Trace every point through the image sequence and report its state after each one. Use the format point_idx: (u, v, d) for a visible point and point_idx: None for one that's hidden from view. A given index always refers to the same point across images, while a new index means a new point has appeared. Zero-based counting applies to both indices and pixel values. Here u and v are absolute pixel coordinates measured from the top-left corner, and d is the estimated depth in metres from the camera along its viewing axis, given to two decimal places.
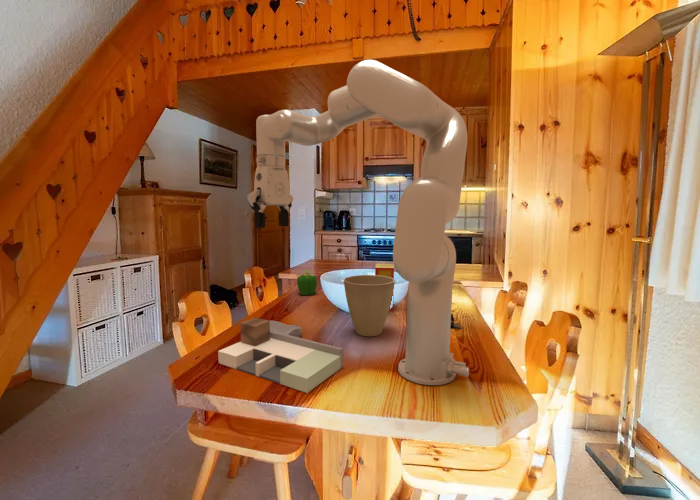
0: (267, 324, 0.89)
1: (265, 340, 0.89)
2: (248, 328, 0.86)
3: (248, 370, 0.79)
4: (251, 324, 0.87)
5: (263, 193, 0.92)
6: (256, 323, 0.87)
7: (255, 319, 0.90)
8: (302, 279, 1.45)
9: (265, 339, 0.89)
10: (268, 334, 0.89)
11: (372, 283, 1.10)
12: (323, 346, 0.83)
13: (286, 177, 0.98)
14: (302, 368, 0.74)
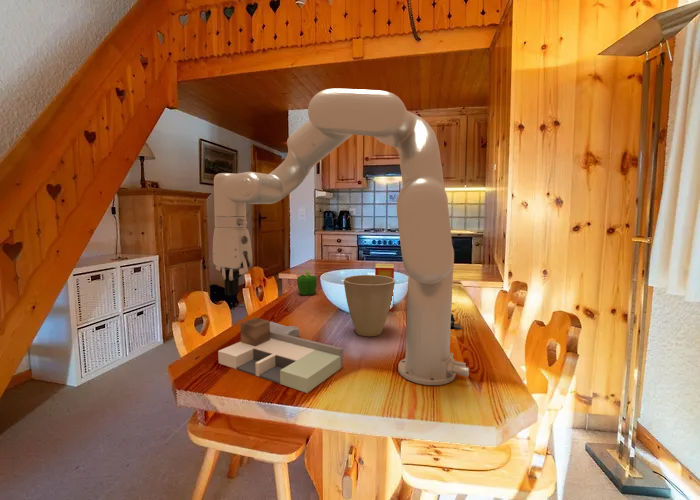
0: (267, 324, 0.89)
1: (265, 340, 0.89)
2: (248, 328, 0.86)
3: (248, 370, 0.79)
4: (251, 324, 0.87)
5: (250, 256, 0.89)
6: (256, 323, 0.87)
7: (255, 319, 0.90)
8: (302, 279, 1.45)
9: (265, 339, 0.89)
10: (268, 334, 0.89)
11: (372, 283, 1.10)
12: (323, 346, 0.83)
13: None
14: (302, 368, 0.74)
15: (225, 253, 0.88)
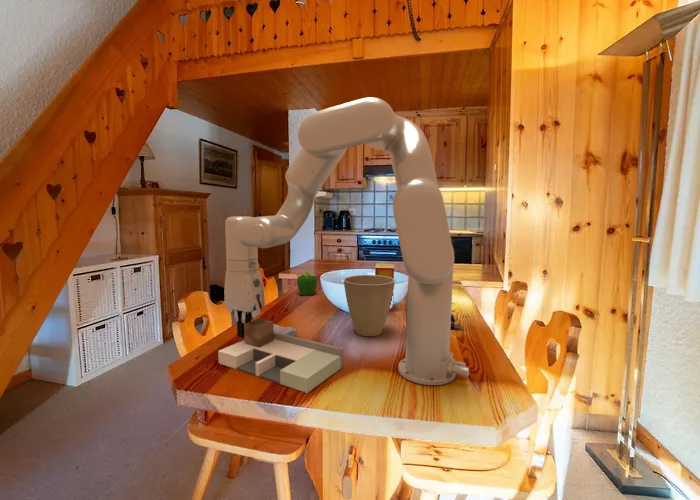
0: (271, 325, 0.88)
1: (269, 341, 0.88)
2: (251, 329, 0.86)
3: (248, 370, 0.79)
4: (255, 325, 0.86)
5: (262, 298, 0.89)
6: (260, 324, 0.87)
7: (259, 320, 0.90)
8: (302, 279, 1.45)
9: (269, 340, 0.88)
10: (272, 335, 0.89)
11: (372, 283, 1.10)
12: (323, 346, 0.83)
13: None
14: (302, 368, 0.74)
15: (237, 296, 0.87)
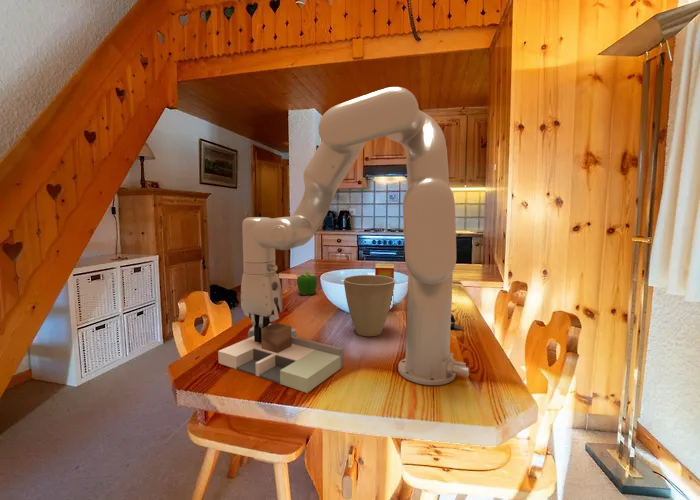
0: (289, 330, 0.85)
1: (287, 346, 0.85)
2: (269, 334, 0.83)
3: (248, 370, 0.79)
4: (272, 330, 0.83)
5: (280, 302, 0.86)
6: (278, 329, 0.83)
7: (276, 324, 0.86)
8: (302, 279, 1.45)
9: (287, 345, 0.85)
10: (290, 340, 0.85)
11: (372, 283, 1.10)
12: (323, 346, 0.83)
13: None
14: (302, 368, 0.74)
15: (255, 300, 0.84)
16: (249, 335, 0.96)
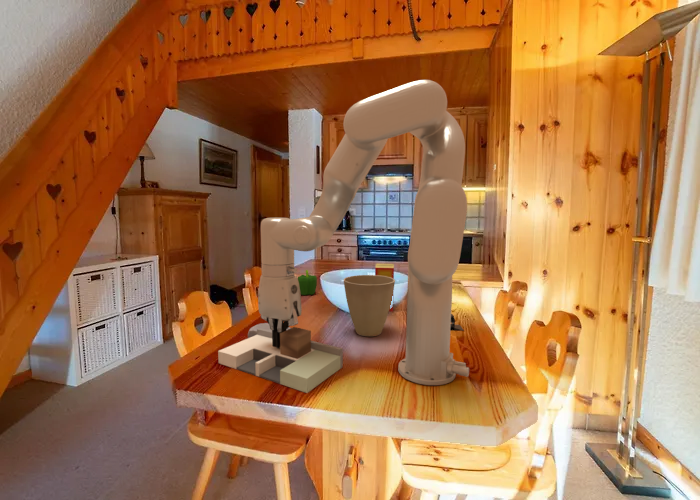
0: (308, 334, 0.82)
1: (306, 352, 0.82)
2: (288, 338, 0.80)
3: (248, 370, 0.79)
4: (292, 334, 0.80)
5: (299, 305, 0.83)
6: (297, 333, 0.80)
7: (295, 329, 0.83)
8: (302, 279, 1.45)
9: (306, 351, 0.82)
10: (309, 345, 0.82)
11: (372, 283, 1.10)
12: (323, 346, 0.83)
13: None
14: (302, 368, 0.74)
15: (273, 303, 0.81)
16: (249, 335, 0.96)
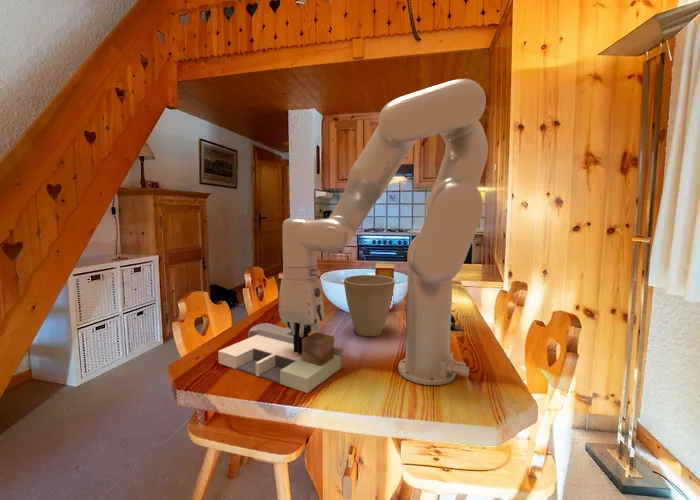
0: (331, 340, 0.78)
1: (329, 358, 0.78)
2: (311, 345, 0.76)
3: (248, 370, 0.79)
4: (315, 340, 0.76)
5: (322, 309, 0.79)
6: (320, 339, 0.77)
7: (316, 334, 0.80)
8: None
9: (329, 357, 0.78)
10: (332, 351, 0.79)
11: (372, 283, 1.10)
12: None
13: None
14: (302, 368, 0.74)
15: (296, 307, 0.78)
16: (249, 335, 0.96)
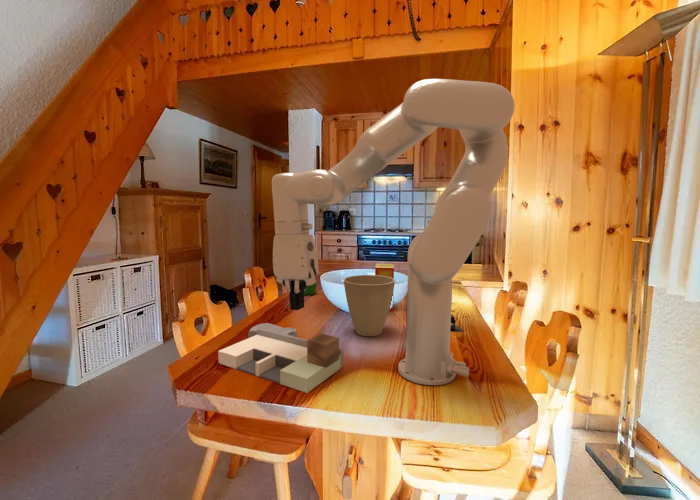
0: (337, 341, 0.78)
1: (335, 360, 0.77)
2: (317, 346, 0.75)
3: (248, 370, 0.79)
4: (320, 342, 0.75)
5: (316, 264, 0.79)
6: (325, 341, 0.76)
7: (322, 336, 0.79)
8: None
9: (335, 359, 0.77)
10: (337, 353, 0.78)
11: (372, 283, 1.10)
12: None
13: None
14: (302, 368, 0.74)
15: (289, 263, 0.78)
16: (250, 335, 0.96)
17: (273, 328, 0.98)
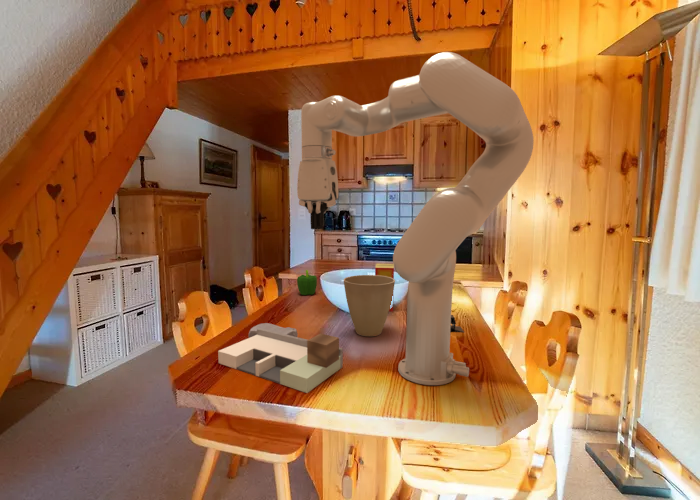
0: (337, 341, 0.78)
1: (335, 360, 0.77)
2: (317, 346, 0.75)
3: (248, 370, 0.79)
4: (320, 342, 0.75)
5: (337, 188, 0.88)
6: (325, 341, 0.76)
7: (322, 336, 0.79)
8: (302, 279, 1.45)
9: (335, 359, 0.77)
10: (337, 353, 0.78)
11: (372, 283, 1.10)
12: None
13: None
14: (302, 368, 0.74)
15: (313, 185, 0.87)
16: (250, 335, 0.96)
17: (273, 328, 0.98)
